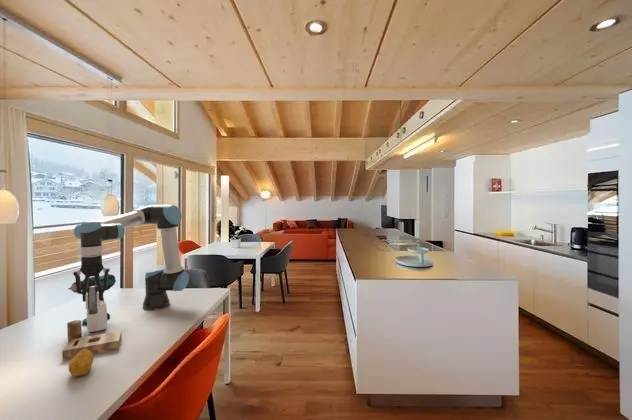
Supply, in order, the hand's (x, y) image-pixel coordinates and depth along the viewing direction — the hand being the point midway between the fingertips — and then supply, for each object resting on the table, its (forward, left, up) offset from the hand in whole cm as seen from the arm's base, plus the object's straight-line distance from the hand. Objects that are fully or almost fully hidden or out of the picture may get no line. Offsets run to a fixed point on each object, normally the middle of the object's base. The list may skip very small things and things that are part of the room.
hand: (93, 307), depth 138 cm
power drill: (+6, -38, -19) cm, 43 cm away
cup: (+2, -23, -19) cm, 30 cm away
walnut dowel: (+9, -11, -19) cm, 24 cm away
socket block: (0, 0, -19) cm, 19 cm away
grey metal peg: (0, 0, -3) cm, 3 cm away
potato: (+1, +21, -19) cm, 28 cm away
